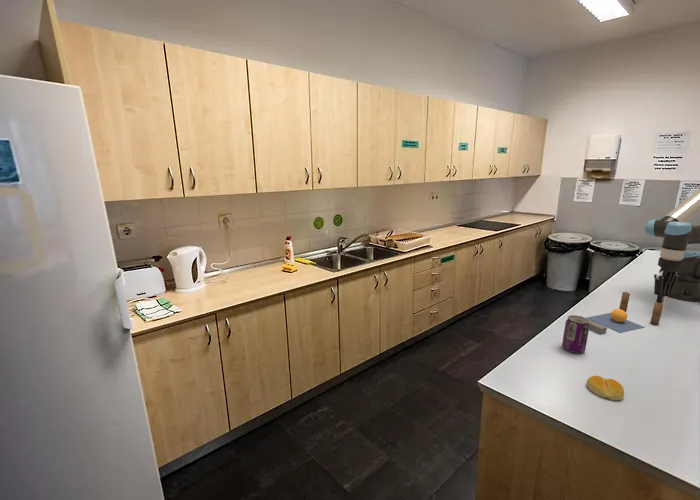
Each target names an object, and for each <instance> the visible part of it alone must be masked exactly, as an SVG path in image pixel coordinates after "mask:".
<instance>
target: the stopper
mask: <svg viewBox="0 0 700 500" xmlns="http://www.w3.org/2000/svg"><path fill="white" fill-rule="evenodd" d="M580 316H581V317H583V316H582V315H580ZM588 321H589V331H591V332H594V333H596V334H598V335H605V334H606V333H607V330H608V327H605V326H603V325H601V324H599V323H596V322H594V321H592V320H590V319H588Z"/></svg>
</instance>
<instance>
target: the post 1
mask: <svg viewBox="0 0 700 500" xmlns="http://www.w3.org/2000/svg"><path fill="white" fill-rule="evenodd" d="M630 296H631V293H630V292H627V291H622V293H621V299H620V302H619V303H620V304H619V308H618V309H621V310H623V311H625V312H626V313H627V310H628V304H629V302H630V301H629V300H630Z"/></svg>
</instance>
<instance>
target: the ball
mask: <svg viewBox="0 0 700 500" xmlns="http://www.w3.org/2000/svg"><path fill="white" fill-rule="evenodd" d="M610 313H611V318H612V319H613V320H614V321H616V322H624V321H625V320H628V313H627V311H626V312H625V311H623V310H621V309H619V308H615V309H612V311H611V312H610Z"/></svg>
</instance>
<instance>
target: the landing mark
mask: <svg viewBox="0 0 700 500" xmlns="http://www.w3.org/2000/svg"><path fill="white" fill-rule="evenodd" d="M586 319H589V320H591V321H593V322H595V323H598V324H600V325H602V326H604V327H607V329H610V330H613V332H617V333H619V334H622V333H625V332H630V331H634V330H638V329H639V330H640V329H644V328H645V326H643V325H641V324H638V323H636V322H633V321H631V320H628V319H626V320H625V321H624V322H616V321H614V320H613V319H612V318H611V312H608V313H603V314H598V315H592V316H588V317H586Z"/></svg>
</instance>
